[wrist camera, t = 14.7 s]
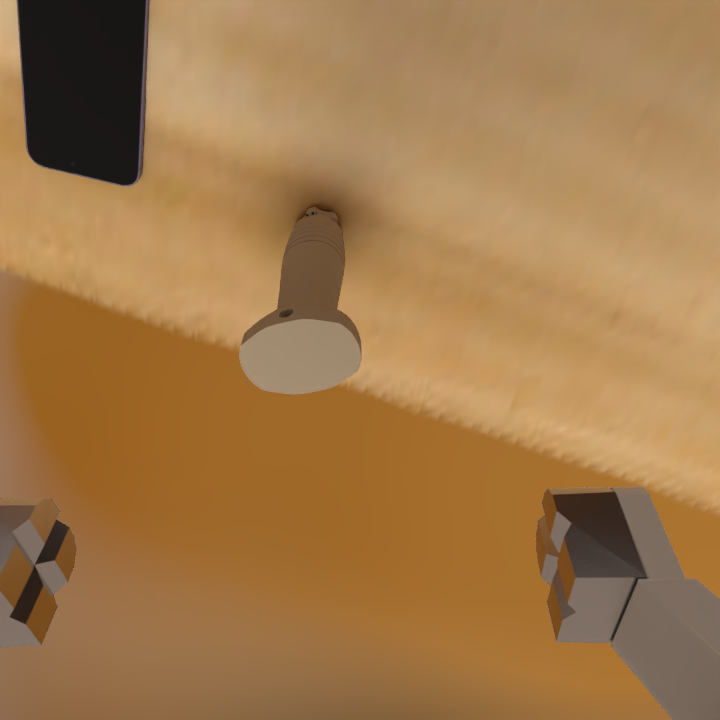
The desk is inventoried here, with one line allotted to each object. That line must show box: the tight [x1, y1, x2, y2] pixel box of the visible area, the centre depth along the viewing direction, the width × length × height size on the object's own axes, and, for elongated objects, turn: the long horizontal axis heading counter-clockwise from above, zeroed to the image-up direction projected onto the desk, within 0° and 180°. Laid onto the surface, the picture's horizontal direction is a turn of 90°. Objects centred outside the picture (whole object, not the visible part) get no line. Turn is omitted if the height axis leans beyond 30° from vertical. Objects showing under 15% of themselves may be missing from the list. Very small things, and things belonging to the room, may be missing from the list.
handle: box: [239, 207, 361, 394], centre depth 39 cm, size 5×6×15 cm
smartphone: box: [17, 0, 149, 186], centre depth 38 cm, size 7×1×15 cm
